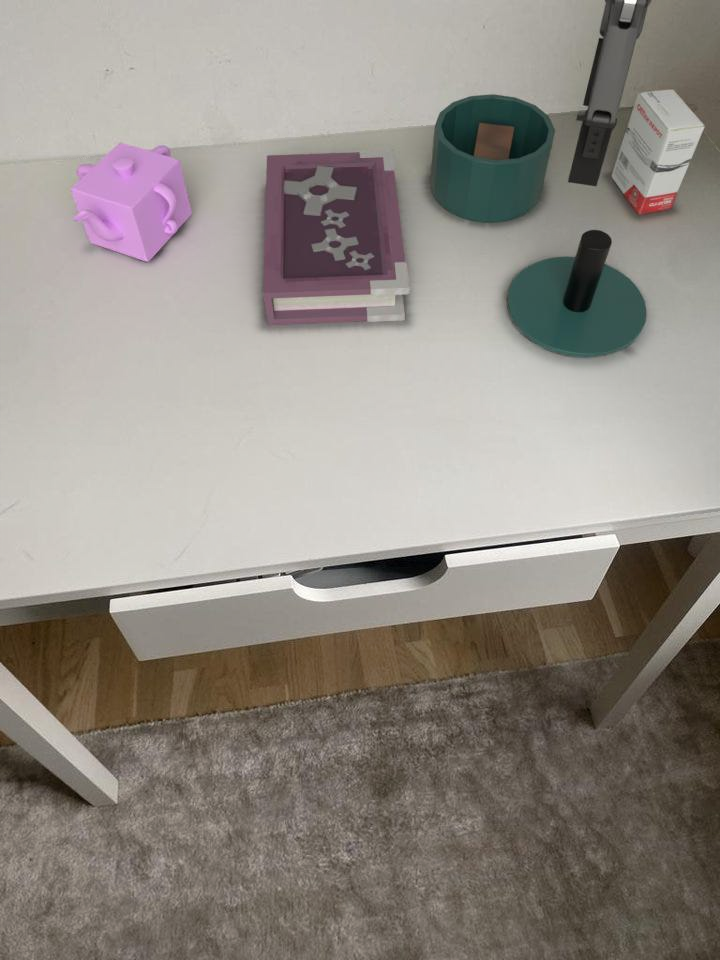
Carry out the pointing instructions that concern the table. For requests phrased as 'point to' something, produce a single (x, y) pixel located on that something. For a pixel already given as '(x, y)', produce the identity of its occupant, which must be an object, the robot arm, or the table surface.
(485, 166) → the tin
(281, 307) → the book
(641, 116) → the ink box
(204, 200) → the table surface
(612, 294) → the lid
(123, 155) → the teapot
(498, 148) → the block
